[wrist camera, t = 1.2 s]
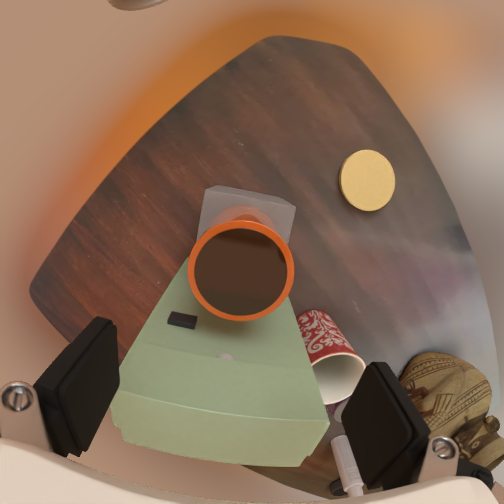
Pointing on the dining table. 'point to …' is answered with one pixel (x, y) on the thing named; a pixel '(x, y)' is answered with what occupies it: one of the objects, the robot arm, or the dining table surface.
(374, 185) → the flat yellow disc
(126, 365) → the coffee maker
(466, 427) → the ceramic vessel
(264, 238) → the orange cup
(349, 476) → the bottle
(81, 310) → the dining table surface
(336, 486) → the smart speaker
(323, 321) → the mug
